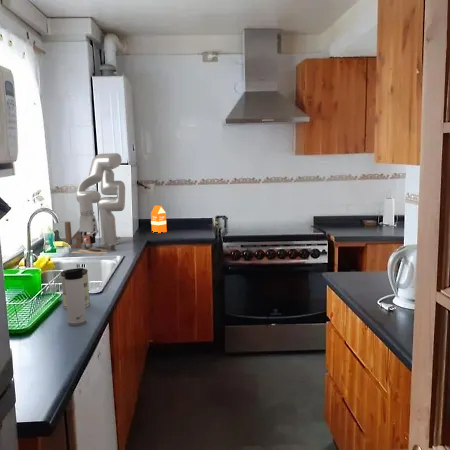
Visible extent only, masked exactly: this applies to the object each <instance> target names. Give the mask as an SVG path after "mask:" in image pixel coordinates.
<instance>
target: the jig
mask: <svg viewBox="0 0 450 450" xmlns="http://www.w3.org/2000/svg"><path fill="white" fill-rule="evenodd" d="M93 245H94V243H93V244H84V242H83V243H82V244H81V248H80V249H79V250H75V251H72V252H70V253H73V254H86V255H100V256H101V255H104V254H108V253H111V252H114V251H119V248H116V245H115V244H104V246H95V247H94V246H93Z"/></svg>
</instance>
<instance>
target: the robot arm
mask: <svg viewBox="0 0 450 450" xmlns="http://www.w3.org/2000/svg"><path fill="white" fill-rule="evenodd" d="M122 160H123V159H122V156H121V155H120V153H117V152H116V153H115V152H114V153H113V152H112V153H110V152H109V153H98V154H97V155H95V156H94V157H93V158H92V161H91V164H90V167H89V171H88V172H89V173H88V175H87V176H86V177H85V178H84V179H83V180H82V181H81V182H80V183H79V185H78V187H77V190H76V195H75V196H76V197H75V198H76V201H77V203H78V204H79V212H80V213H79V214H80V215H79V229H78V230H77V231H79V232H80V233H81V234H82V236H83V235H86V234H88V233H89V234H91V244H93V245H94V244H96V242H95V241H96V236H97V235H98V233H99V232H100V233H101V234H100V236H101V242H99V246H100V247H103V246H104V244H115V246H117V245H119V244H120V242H119V241H118V240H121V237H120V236H117V230H116V229H117V227H116V225H117V224H116V216H115V214H114V213H113V212H122V211H124V210H125V208H126V207H125V206H126V186H125V185H126V184H125V182H124V181H122V180H115V173H114V171H113V170H114V169H116V168H118V167H120V166H121V164H122ZM98 183H100V192H99V191H97V190H87V189H89V188H90V187H93V186H94V185H97V184H98ZM101 194H102V195H104V196H103V197H101V196H102V195H101ZM93 204H97V208H98V212H99V219H100V220H99V221H100V229H101V230H99V229H98V224H97V219H96V215H95V211H94V206H93Z"/></svg>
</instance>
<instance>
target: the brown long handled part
mask: <svg viewBox="0 0 450 450" xmlns="http://www.w3.org/2000/svg"><path fill="white" fill-rule="evenodd" d="M71 225H72V224H71V221H65V222H64V234H65V244H66V243H68V244H69V245H70V246H71V249H70V250H73V249H81V244H82V243H84V242H83V236H82V234H81V233H80V232H79V231H78V230H77V231H76V232H75V233H74V235H73V236H72V226H71ZM73 240H75V243H73Z"/></svg>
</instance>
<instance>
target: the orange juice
mask: <svg viewBox="0 0 450 450" xmlns="http://www.w3.org/2000/svg"><path fill="white" fill-rule="evenodd" d="M150 224H151V232H152V231H153V232H152V233H154V232H158V233H157V234H161V232H163V233H167V231H168V230H167V212H166V211H165V210H164V208H163V207H162V205H154V206H153V209H152V210H151V212H150Z"/></svg>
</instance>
